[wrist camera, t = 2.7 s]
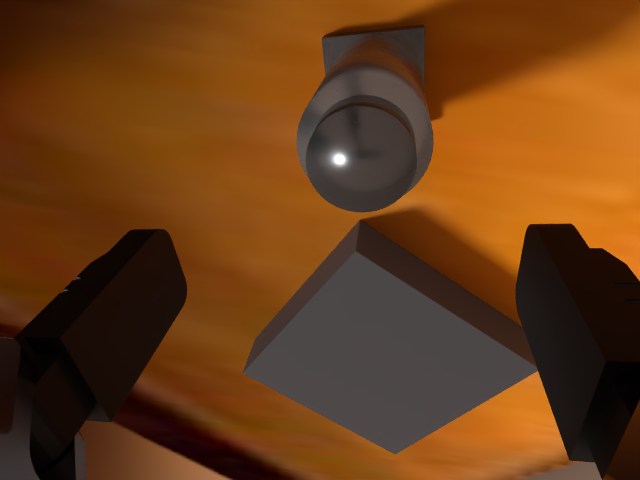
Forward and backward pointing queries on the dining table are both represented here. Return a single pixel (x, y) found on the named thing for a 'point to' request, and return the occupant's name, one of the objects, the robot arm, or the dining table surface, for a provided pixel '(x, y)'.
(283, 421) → the dining table surface
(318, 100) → the salt shaker
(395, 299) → the slate block
